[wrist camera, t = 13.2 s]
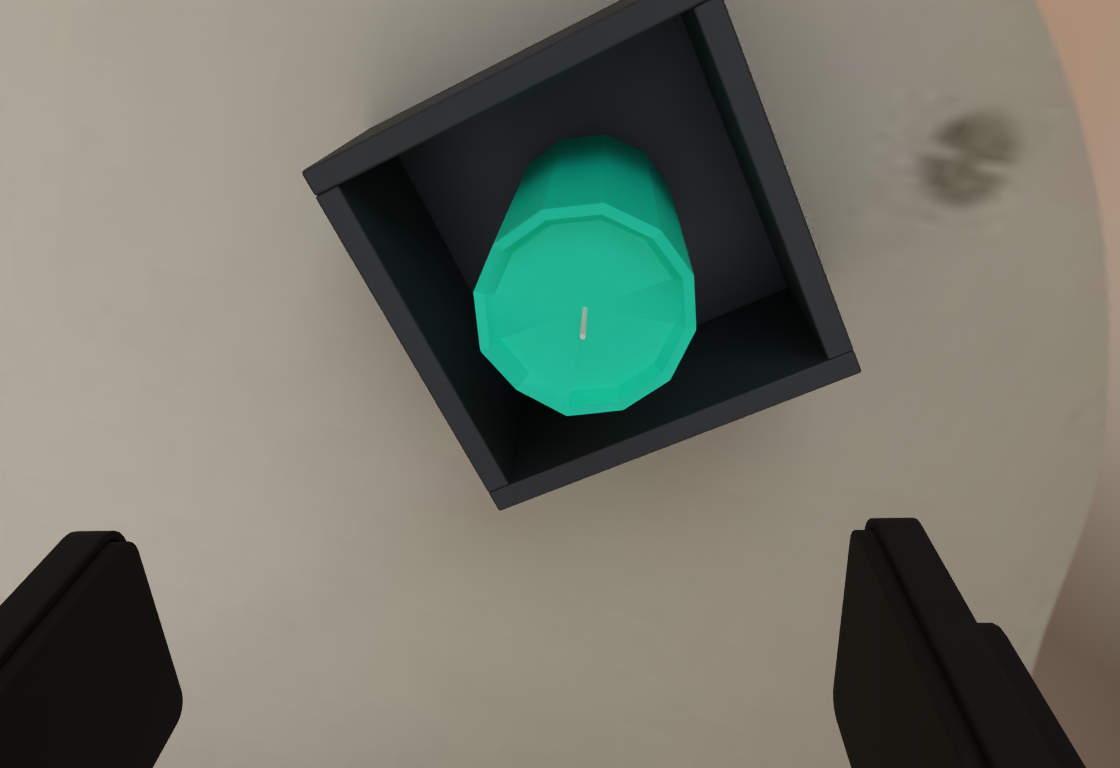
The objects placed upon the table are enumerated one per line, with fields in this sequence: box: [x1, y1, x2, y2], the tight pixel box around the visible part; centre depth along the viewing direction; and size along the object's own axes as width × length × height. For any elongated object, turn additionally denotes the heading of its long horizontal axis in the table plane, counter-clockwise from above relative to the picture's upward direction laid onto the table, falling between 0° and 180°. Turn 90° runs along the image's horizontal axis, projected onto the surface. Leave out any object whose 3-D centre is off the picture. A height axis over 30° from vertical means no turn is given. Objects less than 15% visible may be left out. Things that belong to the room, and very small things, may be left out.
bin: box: [302, 0, 861, 510], centre depth 30 cm, size 13×13×8 cm
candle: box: [473, 134, 696, 416], centre depth 27 cm, size 6×6×12 cm
